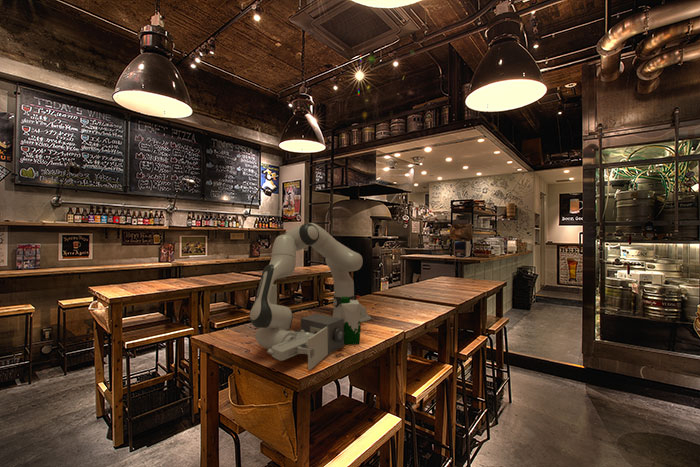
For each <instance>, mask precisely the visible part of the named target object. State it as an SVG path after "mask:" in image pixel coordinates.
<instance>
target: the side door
mask: <svg viewBox="0 0 700 467" xmlns="http://www.w3.org/2000/svg"><path fill="white" fill-rule="evenodd" d="M328 355H330V354H329V327H328V326H326V327H325V328H323V329H322V330H320V331H319V332H317V333H316V334H314V335H313V336H311V337H310V338H308V354H307V366H308V367H307V370H308V371H311V370H312V369H313V368H315V367H316V366H317V365H318V364H319V363H320V362H321V361H322V360H323V359H325V358H326V357H327V356H328Z"/></svg>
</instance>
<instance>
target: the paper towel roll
mask: <svg viewBox="0 0 700 467" xmlns="http://www.w3.org/2000/svg"><path fill="white" fill-rule="evenodd" d="M277 284H278V283H275V284H273V286H272V290H271V294H270V298H269V301H270V303H271V304H276V305H278V294H277V293H278V291H277V290H278V287H277Z"/></svg>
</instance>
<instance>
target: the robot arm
mask: <svg viewBox="0 0 700 467" xmlns="http://www.w3.org/2000/svg"><path fill="white" fill-rule="evenodd" d="M308 247H312V249H314V251H316V252H317V253H319V254H320V255H321V256H322V257H324V259H325V264H326V266H327V267H328V268H329V270H330V273H331V276H332V280H333V299H332V300H333V312H332V317H336V318H340V307H341V304H340V302H341V297H350V300H360V299H361V295H356V294H355V283H354V282H355V281H354V279H353V278H352V277H351V275H350V273H349V272H356V271H359V270H360V269H361V268H362V266H363V264H364V262H363V260H364V259H363V256H362V255H361V254H360V253H359V252H356V251H354V250H352V249H351V248H349V247H348V246H345V244H342V243H341V242H339V241H338V240H337V239H335V238H334V237H333V236H332V235H331V234H330V233H329V232H328V231H326V230H325V229H324V228H323V227H321V226H320V225H318V224H317V223H314V222H310V223H303V224H302V225H299V226H296V227H294V228H292V229H290V230H288V231H286V232H284V233H283V234H280V235H278V236H277V237H276V238H275V239H274V242H273V246H272V250H271V254H270V255H271V256H270V262H269V264H267V265H266V266H265V267H264V268H263V270H262V273H261V276H260V280H259V284H258V285H257V286H258V287H257V290H256V294H255V298H254V301H253V304H252V306H251V308H250V311H249V320H250V323H251V324H252V326H253V327H254V328H256V329H257V330H256V332H255V340H256V342H257V344H258V345H260V347H262V348H264V349H266V353H267V354H269V355H271V357H273V359H275V360H277V361H280V362H282V361H285V360H288V359H290V358H292V357H295V356H297V355H301V354H302V355H308V338H310V337H311V336H313V335H314V334H312V333H309V332H304V330H301V329H297V330H290V329H291V327H292V324H293V320H294V319H293V317H294V316H293V311H292V310H291V308H290V307H288V306H286V305H282V304H281V305H280V304H277V305H276V304H271V303H270V301H269V298H270V294H271V290H272V286H273V285H274V282H276V280H280V279H283V278H287V277H289V276H291V275H292V273H293V272H294V271H295V268H296V264H297V262H296V261H297V252H298V251H301V250H305V249H306V248H308ZM359 305H360V321H361V323H363V322H366V321H367V322H368V321H370V320H372V317H371V315H369V314H368V311H367V308H366V307H365V306H364V305H363V304H361V303H360V302H359Z"/></svg>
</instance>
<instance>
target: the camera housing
mask: <svg viewBox="0 0 700 467" xmlns="http://www.w3.org/2000/svg"><path fill="white" fill-rule="evenodd" d="M326 326H328V327H329V354H328V355H330V354H332V353H334V352H336V351H339V350H340V349H342V348H344V347H345V345H344V320H343V319H341V318H336V317H333V316H331V315H327V314H321V313H314V314H311V315H307V316H304V317H301V318H300V330H304V332H309V333H312V334H316V333H317V332H319V331H320V330H322V329H323V328H325V327H326Z"/></svg>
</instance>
